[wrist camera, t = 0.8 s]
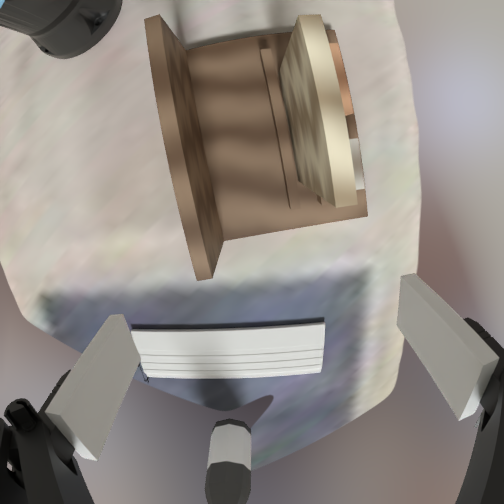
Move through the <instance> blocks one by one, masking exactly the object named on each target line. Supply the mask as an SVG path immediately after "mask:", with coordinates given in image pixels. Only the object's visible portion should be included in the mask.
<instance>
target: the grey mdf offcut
mask: <svg viewBox="0 0 504 504" xmlns="http://www.w3.org/2000/svg"><path fill="white" fill-rule="evenodd" d="M349 142H350V148H351V155H352V162H353V169H354V177H355V185H356V190H359V189H365V186H364V177H363V169H362V162H361V155H360V148H359V141H358V138H355V139H349Z"/></svg>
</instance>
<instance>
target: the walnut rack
mask: <svg viewBox="0 0 504 504" xmlns="http://www.w3.org/2000/svg"><path fill="white" fill-rule="evenodd" d="M144 21H145V29H146V37H147V45H148V52H149V59H150V66H151V72H152V78H153V85H154V91H155V96H156V102H157V108H158V113H159V119H160V124H161V129H162V135H163V140H164V145H165V150H166V155H167V159H168V164H169V169H170V173H171V178H172V183H173V187H174V191H175V196H176V200H177V204H178V209H179V213H180V217H181V221H182V225H183V229H184V233H185V237H186V241H187V245H188V249H189V253H190V257H191V261H192V264H193V268H194V272H195V276H196V279H197V281H200V280H206V279H212V278H213V274H214V271H215V268H216V265H217V261H218V258H219V255H220V252H221V249H222V245H223V242H224V241H227V240H232V239H238V238H243V237H249V236H255V235H260V234H266V233H272V232H277V231H283V230H289V229H295V228H301V227H306V226H312V225H318V224H324V223H330V222H336V221H342V220H348V219H355V218H361V217H367V216H368V212H367V201H366V191H365V189H359V190H356V193H357V203H358V205H351V206H345V207H338V208H335V207H334V206H333V205H331V204H330V203H329V202H327V201H326V200H324V199H323V198H322V197H320V196H319V195H317V194H316V193H314V192H313V191H312V190H310V189H309V188H307V187H306V186H304V185H303V184H302V183H300V182H299V181H298V177H297V171H296V165H295V159H294V154H293V148H292V142H291V137H290V132H289V126H288V121H287V116H286V111H285V106H284V101H283V96H282V91H281V86H280V82H279V77H278V73H279V70H280V67H281V64H282V61H283V58H284V55H285V52H286V49H287V47H288V44H289V41H290V38H291V35H292V32H287V33H277V34H268V35H261V36H254V37H247V38H241V39H235V40H230V41H225V42H220V43H215V44H210V45H206V46H202V47H197V48H193V49H189V50H185V49H184V47H183V46H182V44H181V43H180V42H179V40H178V39H177V37H176V36H175V35H174V33H173V32H172V31H171V29H170V28H169V27H168V25H167V24H166V22H165V21H164V20H163V18H162V17H161V16H160V14H159V15H156V16H153V17H150V18H147V19H144ZM325 31H326V35H327V38H328V42H329V43H338V40H337V37H336V33H335V30H325ZM338 45H339V44H338ZM339 49H340V48H339ZM340 53H341V51H340ZM341 57H342V55H341ZM342 61H343V59H342ZM343 65H344V63H343ZM344 69H345V68H344ZM345 74H346V72H345ZM346 78H347V76H346ZM347 83H348V81H347ZM348 87H349V85H348ZM349 92H350V90H349ZM350 97H351V95H350ZM351 102H352V99H351ZM352 107H353V105H352ZM353 112H354V110H353ZM345 118H346V124H347V130H348V136H349V139H355V138H358V132H357V126H356V121H355V115H354V113H353V114H350V115H347V116H345ZM358 141H359V138H358ZM359 148H360V145H359ZM360 155H361V152H360ZM361 162H362V159H361ZM362 169H363V166H362ZM363 177H364V174H363ZM364 186H365V182H364Z"/></svg>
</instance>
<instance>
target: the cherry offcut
mask: <svg viewBox="0 0 504 504" xmlns="http://www.w3.org/2000/svg"><path fill="white" fill-rule="evenodd" d="M329 46H330V50H331V54H332V58H333V62H334V66H335V70H336V74H337V79H338V83H339V88H340V93H341V98H342V103H343V108H344V113H345V116H347V115H350V114H353V113H354V112H353V107H352V102H351V97H350V92H349V87H348V83H347V78H346V74H345V69H344V65H343V61H342V57H341V53H340V49H339V45H338V43H329Z"/></svg>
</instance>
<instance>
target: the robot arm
mask: <svg viewBox="0 0 504 504" xmlns="http://www.w3.org/2000/svg"><path fill="white" fill-rule="evenodd" d="M121 5H122V0H0V26H2V27H5V28H8V29H11V30H14V31H17V32H20V33H23V34H26V35H29V36H30V37H31V38H32V40H33V41H34V42H35V43H36V44H37V46H38V47H39V48H40V49H41V50H42V51H43V52H44V53H45V54H47V55H49V56H52V57H55V58H58V59H68V58H72V57H75V56H78V55H80V54H82V53H84V52H86V51H87V50H89V49H90V48H92V47H93V46H94V45H96V44H97V43H98V42H99V41H100V40H101V39H102V38H103V37H104V36H105V35H106V34H107V32H108V31H109V30H110V29H111V27H112V26H113V24H114V23H115V21H116V19H117V17H118V15H119V12H120V9H121ZM397 326H398V328H399V329H400V331H401V332H402V334H403V335H404V336H405V338H406V339H407V341H408V342H409V344H410V345H411V347H412V348H413V350H414V351H415V352H416V354H417V355H418V357H419V358H420V360H421V361H422V363H423V364H424V366H425V367H426V369H427V371H428V372H429V374H430V375H431V377H432V378H433V380H434V381H435V383H436V385H437V386H438V388H439V389H440V391H441V392H442V394H443V396H444V397H445V399H446V401H447V402H448V404H449V405H450V407H451V409H452V410H453V412H454V414H455V415H456V417H457V419H458V420H461V419H464V418H466V417H468V416H470V415H472V414H474V413H475V411H476V409H477V407H478V405H479V403H481V405H482V406H483V408H484V410H483V412H482V413H481V415H480V417H479V419H478V420H477V422H476V424H475V427H477V426H478V424H479V427H478V432H477V436H476V440H475V444H474V448H473V452H472V456H471V459H470V463H469V466H468V469H467V473H466V476H465V479H464V482H463V485H462V487H461V490H460V493H459V496H458V498H457V501H456V504H504V349H503V348H502V347H501V346H500V344H499V343H498V342H497V341H496V340H495V339H494V338H493V337H491V335H490V334H489V333H488V332H487V331H485V329H484V328H483V327H482V326H480V324H479V323H477V322H475V321H474V320H472V319H470V318H465V319H462V318H461V317H460V316H459V315H458V314H457V313H456V312H455V311H454V310H453V309H452V308H451V307H450V306H449V305H448V304H447V303H446V302H445V301H444V300H443V299H442V298H441V297H440V296H439V295H438V294H437V293H435V292H434V291H433V290H432V289H431V288H430V287H429V286H428V285H427V284H426V283H425V282H424V281H423V280H421V279H420V278H419V277H418V276H417V275H416V274H415V273H414V274H409V275H404V276H401V282H400V296H399V307H398V317H397ZM140 360H141V357H140V355H139V353H138V350H137V348H136V345H135V343H134V341H133V338H132V336H131V333H130V331H129V328H128V326H127V323H126V321H125V318H124V315H123V314H118V315H110V316H109V317H108V318H107V320H106V321H105V323H104V324H103V325H102V327H101V328H100V329H99V331H98V332H97V334H96V335H95V336H94V338H93V339H92V341H91V342H90V344H89V345H88V346H87V348H86V349H85V351H84V352H83V354H82V355H81V357H80V358H79V360H78V361H77V362H76V364H75V365H74V367H73V369H72V370H69V371H68V372H66V374H64V375H63V376H62V377H61V378H60V380H59V381H58V383H57V384H56V386H55V387H54V389H53V390H52V393H50V395H49V396H48V398H47V400H46V401H45V403H44V404H43V406H42V407H41V409H40V411H39V412H38V413H37V412H36V411H35V409H34V408H33V406H32V405H31V404H30V402H29V401H28V400H26V399H22V398H21V399H17V400H15V401H13V402H11V403H10V404H9V405H8V406H7V408H6V410H5V412H4V416H5V417H6V418H7V420H8V421H9V422H10V423H11V425H12V426H8V425H7V424H6V423H5V422H4V420H3V419H2V418H0V504H94V502H93V500H92V497H91V495H90V493H89V490H88V489H87V486H86V483H85V481H84V478H83V476H82V473H81V471H80V468H79V466H78V463H77V461H76V459H75V458H74V456H73V452H74V450H76V451H77V452H78V453H79V454H80V455H81V456H82V457H83V458H86V459H91V460H95V461H98V460H99V457H100V455H101V452H102V450H103V447H104V445H105V442H106V439H107V437H108V435H109V432H110V430H111V427H112V425H113V422H114V420H115V417H116V415H117V413H118V410H119V407H120V405H121V403H122V401H123V399H124V396H125V394H126V392H127V389H128V387H129V385H130V382H131V380H132V378H133V376H134V373H135V371H136V369H137V367H138V365H139V362H140ZM7 461H8V462H9V463H10V464H11V465H12V471H10V470H9V469H8V468H7Z"/></svg>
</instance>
